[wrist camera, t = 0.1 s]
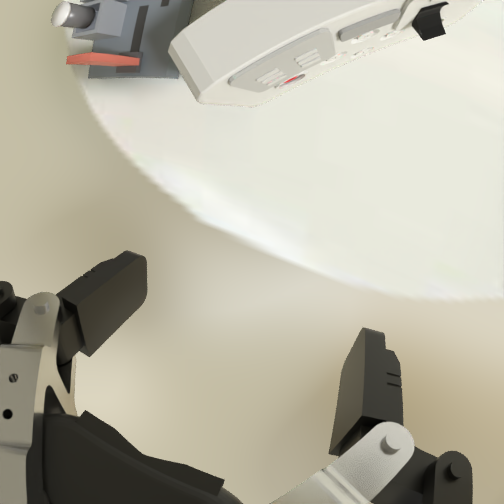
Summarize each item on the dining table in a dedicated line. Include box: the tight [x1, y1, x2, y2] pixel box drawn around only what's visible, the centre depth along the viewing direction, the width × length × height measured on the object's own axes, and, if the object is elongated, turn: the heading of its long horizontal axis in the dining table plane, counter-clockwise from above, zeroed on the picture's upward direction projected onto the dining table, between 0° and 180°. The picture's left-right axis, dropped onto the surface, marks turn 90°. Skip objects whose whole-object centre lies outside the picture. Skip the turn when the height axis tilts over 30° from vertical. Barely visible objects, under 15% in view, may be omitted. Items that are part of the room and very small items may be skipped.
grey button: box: [51, 1, 95, 29], centre depth 24 cm, size 4×4×5 cm
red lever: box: [66, 52, 143, 73], centre depth 29 cm, size 3×4×10 cm
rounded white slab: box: [168, 0, 484, 107], centre depth 20 cm, size 29×8×18 cm, turn 120°
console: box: [72, 0, 194, 79], centre depth 29 cm, size 21×15×8 cm
